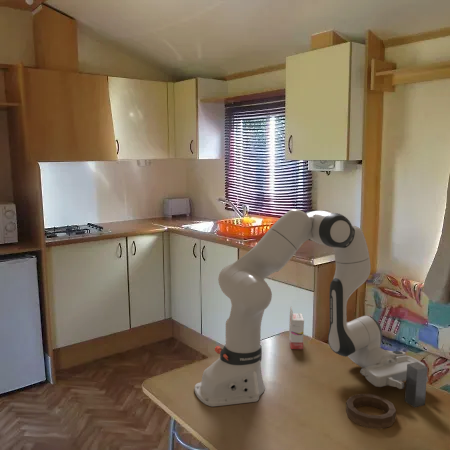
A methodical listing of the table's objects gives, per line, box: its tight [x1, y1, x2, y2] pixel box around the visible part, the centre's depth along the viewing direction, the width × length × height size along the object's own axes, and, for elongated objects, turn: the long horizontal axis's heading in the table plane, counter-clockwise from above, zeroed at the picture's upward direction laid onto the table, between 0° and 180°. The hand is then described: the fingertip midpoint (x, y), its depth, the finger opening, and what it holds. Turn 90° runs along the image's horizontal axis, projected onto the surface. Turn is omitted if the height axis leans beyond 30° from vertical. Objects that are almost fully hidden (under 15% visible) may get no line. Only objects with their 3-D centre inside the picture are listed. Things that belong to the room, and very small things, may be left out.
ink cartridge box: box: [288, 306, 305, 350], centre depth 185 cm, size 9×5×15 cm, turn 178°
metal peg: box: [404, 362, 428, 408], centre depth 143 cm, size 4×4×12 cm
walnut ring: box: [345, 393, 397, 430], centre depth 137 cm, size 13×13×3 cm
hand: (414, 383), depth 143 cm, fingers open, 8 cm apart
